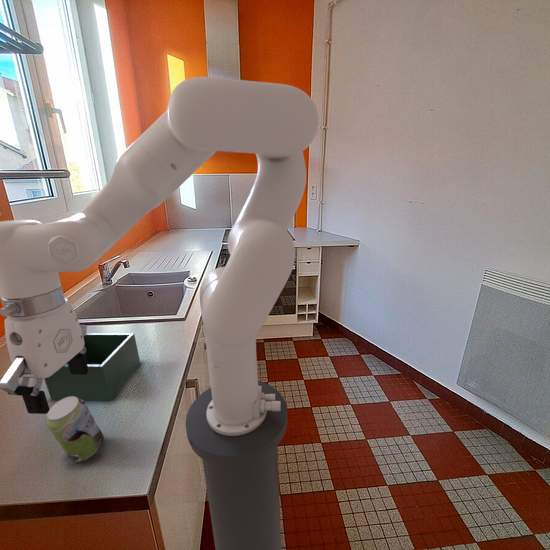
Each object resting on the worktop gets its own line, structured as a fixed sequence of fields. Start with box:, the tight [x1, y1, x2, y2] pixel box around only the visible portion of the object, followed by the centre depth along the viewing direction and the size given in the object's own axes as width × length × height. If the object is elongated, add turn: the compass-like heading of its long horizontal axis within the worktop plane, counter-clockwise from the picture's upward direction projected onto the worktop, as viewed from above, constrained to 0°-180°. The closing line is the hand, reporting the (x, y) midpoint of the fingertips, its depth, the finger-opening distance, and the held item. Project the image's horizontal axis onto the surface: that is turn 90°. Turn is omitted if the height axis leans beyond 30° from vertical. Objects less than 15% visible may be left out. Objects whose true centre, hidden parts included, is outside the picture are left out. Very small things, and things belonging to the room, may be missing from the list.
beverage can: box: [45, 396, 105, 463], centre depth 55 cm, size 6×7×12 cm
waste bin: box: [43, 332, 141, 402], centre depth 76 cm, size 15×15×10 cm
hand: (61, 391), depth 52 cm, fingers open, 9 cm apart
